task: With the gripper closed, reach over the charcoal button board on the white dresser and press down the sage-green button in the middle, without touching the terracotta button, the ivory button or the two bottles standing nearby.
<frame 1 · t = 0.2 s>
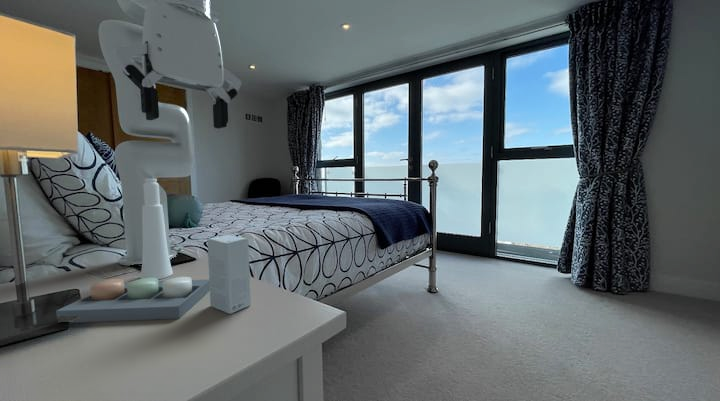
hand: (189, 123, 45), 31 cm above the table, tool pointing down, fingers open, 9 cm apart
cosmetic bottle: (157, 277, 66), on the table
button board: (144, 304, 52), on the table
ivory button: (177, 287, 52), point 3 cm above the table, slide at 0.0 cm
skincare box: (230, 306, 51), on the table
terracotta button: (108, 289, 51), point 3 cm above the table, slide at 0.0 cm
sage button: (143, 288, 52), point 3 cm above the table, slide at 0.0 cm
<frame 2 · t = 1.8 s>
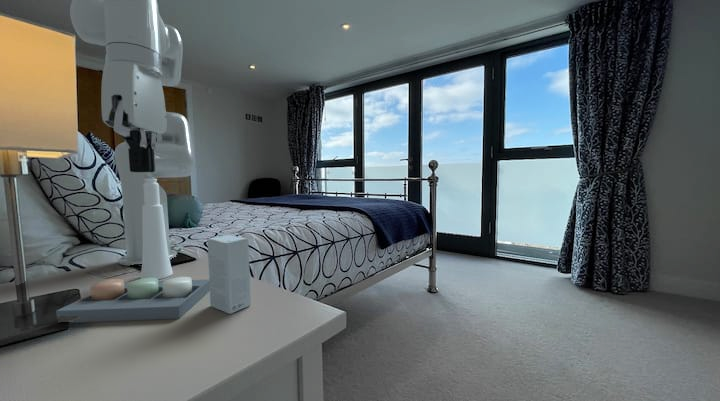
hand: (142, 171, 51), 23 cm above the table, tool pointing down, fingers closed
nothing on the table moved.
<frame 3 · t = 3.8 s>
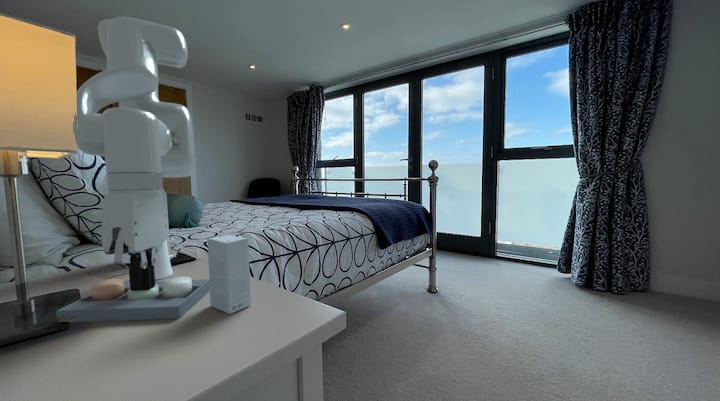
hand: (143, 288, 51), 3 cm above the table, tool pointing down, fingers closed
sage button: (143, 295, 52), point 2 cm above the table, slide at 1.1 cm, touching gripper
everything else where it was.
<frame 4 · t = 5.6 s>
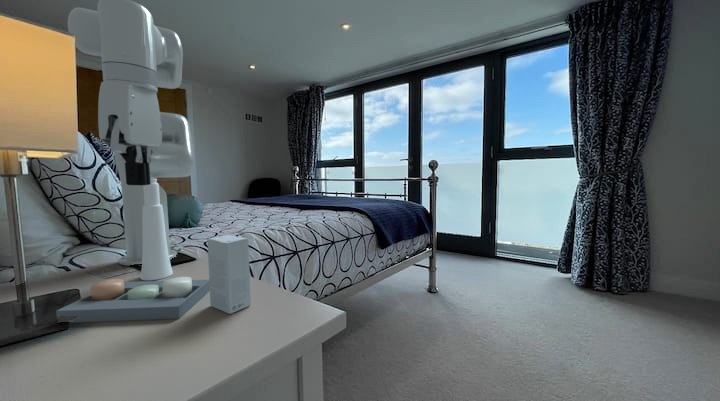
hand: (138, 184, 54), 21 cm above the table, tool pointing down, fingers closed
sage button: (143, 295, 52), point 2 cm above the table, slide at 1.3 cm
everything else where it was.
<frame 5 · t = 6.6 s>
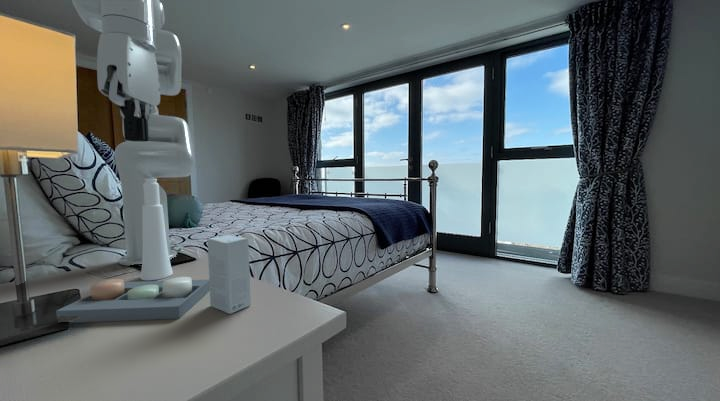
hand: (137, 140, 54), 29 cm above the table, tool pointing down, fingers closed
nothing on the table moved.
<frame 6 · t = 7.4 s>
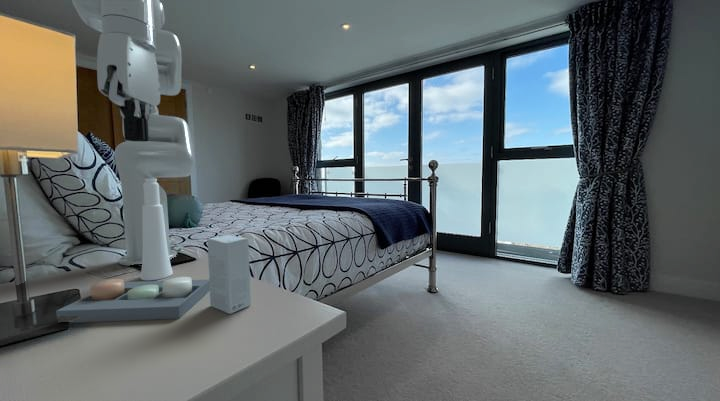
hand: (137, 140, 54), 29 cm above the table, tool pointing down, fingers closed
nothing on the table moved.
at the end: sage button slide at 1.3 cm; terracotta button slide at 0.0 cm; ivory button slide at 0.0 cm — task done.
